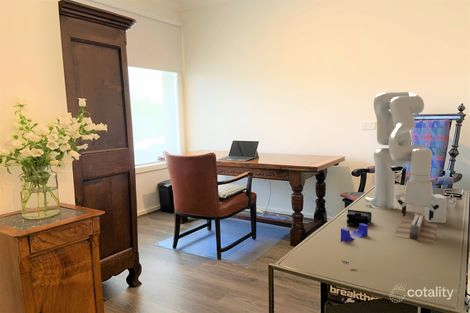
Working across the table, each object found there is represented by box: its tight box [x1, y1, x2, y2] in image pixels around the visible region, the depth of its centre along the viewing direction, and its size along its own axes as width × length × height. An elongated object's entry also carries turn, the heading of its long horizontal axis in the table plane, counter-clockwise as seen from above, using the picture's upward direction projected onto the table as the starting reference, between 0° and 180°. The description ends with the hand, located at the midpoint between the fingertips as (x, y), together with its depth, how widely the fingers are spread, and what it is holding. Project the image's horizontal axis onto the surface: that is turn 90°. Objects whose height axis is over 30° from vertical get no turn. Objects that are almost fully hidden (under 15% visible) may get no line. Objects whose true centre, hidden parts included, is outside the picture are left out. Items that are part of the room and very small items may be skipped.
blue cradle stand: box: [340, 223, 369, 243], centre depth 135 cm, size 12×4×6 cm, turn 119°
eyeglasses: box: [443, 193, 457, 208], centre depth 184 cm, size 16×19×5 cm
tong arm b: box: [417, 213, 426, 236], centre depth 141 cm, size 19×2×4 cm, turn 147°
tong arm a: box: [411, 213, 420, 225], centre depth 142 cm, size 19×2×4 cm, turn 145°
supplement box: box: [422, 193, 448, 223], centre depth 153 cm, size 7×7×13 cm
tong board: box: [393, 218, 439, 244], centre depth 140 cm, size 24×14×6 cm, turn 146°
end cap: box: [346, 208, 373, 229], centre depth 152 cm, size 10×7×7 cm
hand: (417, 217), depth 142 cm, fingers open, 9 cm apart
